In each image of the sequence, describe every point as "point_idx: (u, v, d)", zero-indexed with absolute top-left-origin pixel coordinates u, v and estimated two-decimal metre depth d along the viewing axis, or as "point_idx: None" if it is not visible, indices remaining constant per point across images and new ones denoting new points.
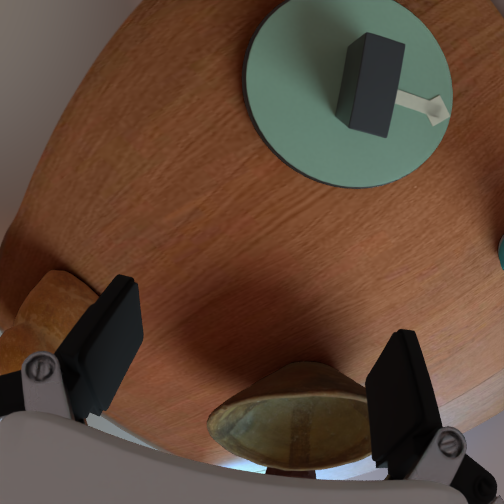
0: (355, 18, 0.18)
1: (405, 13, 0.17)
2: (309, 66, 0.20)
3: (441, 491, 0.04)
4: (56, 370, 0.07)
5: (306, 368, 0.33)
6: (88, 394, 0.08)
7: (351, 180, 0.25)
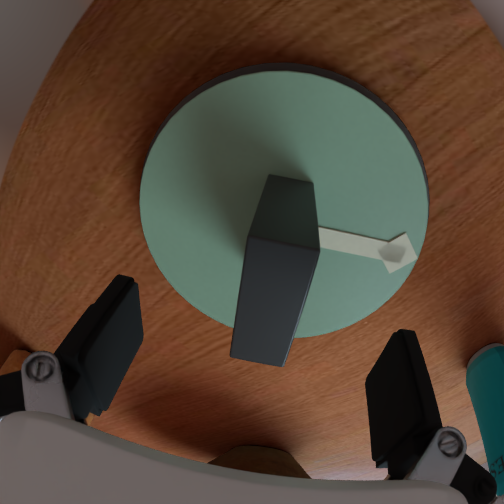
0: (281, 127, 0.15)
1: (366, 107, 0.13)
2: (215, 206, 0.17)
3: (441, 491, 0.04)
4: (56, 370, 0.07)
5: (250, 462, 0.31)
6: (88, 394, 0.08)
7: None
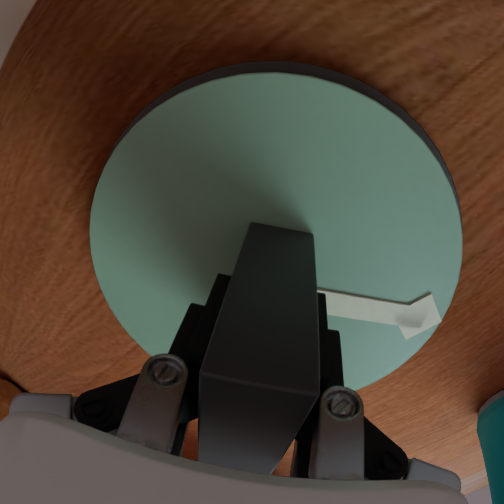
0: (268, 155, 0.10)
1: (391, 127, 0.09)
2: (181, 261, 0.13)
3: (441, 491, 0.04)
4: (185, 371, 0.07)
5: None
6: None
7: None
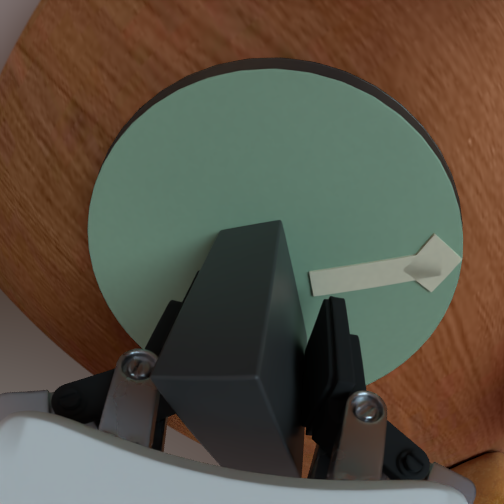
0: (206, 165, 0.11)
1: (304, 85, 0.09)
2: (181, 288, 0.14)
3: (441, 491, 0.04)
4: None
5: None
6: None
7: None
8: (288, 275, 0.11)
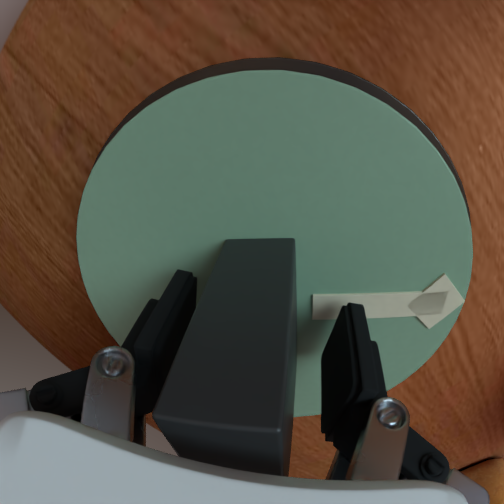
0: (223, 166, 0.10)
1: (347, 100, 0.08)
2: None
3: (441, 491, 0.04)
4: (131, 364, 0.07)
5: None
6: (155, 387, 0.09)
7: (297, 412, 0.16)
8: (295, 299, 0.10)
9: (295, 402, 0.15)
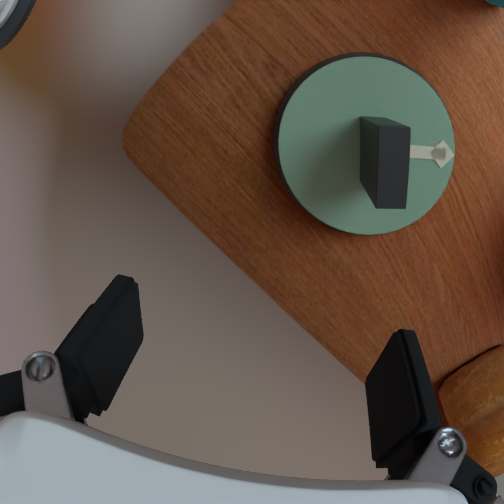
0: (361, 88, 0.23)
1: (402, 70, 0.21)
2: (331, 142, 0.26)
3: (441, 491, 0.04)
4: (56, 370, 0.07)
5: None
6: (89, 394, 0.08)
7: (381, 228, 0.29)
8: None
9: (381, 218, 0.29)
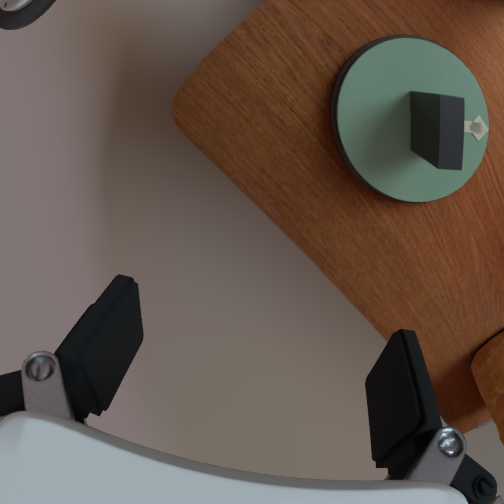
0: (410, 66, 0.23)
1: (444, 52, 0.21)
2: (385, 113, 0.26)
3: (441, 491, 0.04)
4: (56, 370, 0.07)
5: None
6: (88, 394, 0.08)
7: (428, 196, 0.29)
8: None
9: (428, 186, 0.28)
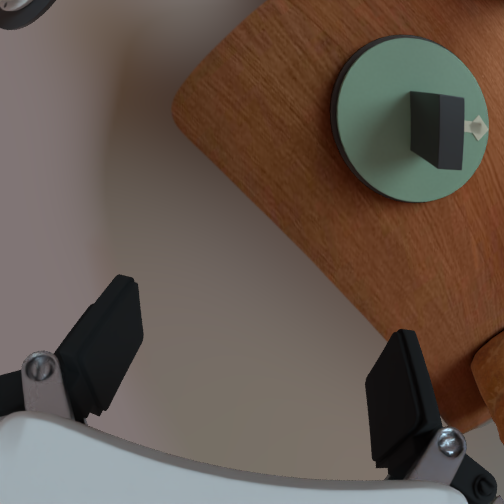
0: (410, 66, 0.23)
1: (444, 52, 0.21)
2: (385, 113, 0.26)
3: (441, 491, 0.04)
4: (56, 370, 0.07)
5: None
6: (88, 394, 0.08)
7: (428, 196, 0.29)
8: None
9: (428, 186, 0.28)
